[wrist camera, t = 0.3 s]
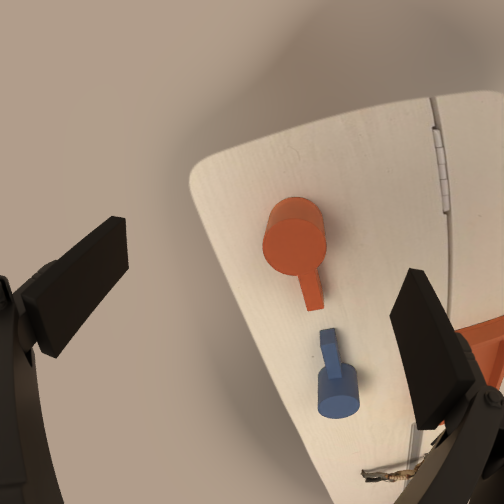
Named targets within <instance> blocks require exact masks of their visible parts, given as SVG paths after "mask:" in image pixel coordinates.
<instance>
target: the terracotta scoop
mask: <svg viewBox="0 0 504 504" xmlns="http://www.w3.org/2000/svg"><path fill="white" fill-rule="evenodd" d="M263 253H264V256H265V259H266V260H267V262H268V263H269V264H270V265H271V266H272V267H273V268H274V269H275V270H277V271H278V272H281V273H283V274H286V275H292V276H298V279H299V282H300V286H301V289H302V293H303V296H304V300H305V304H306V307H307V311H313V310H318V309H323V308H324V298H323V291H322V286H321V282H320V278H319V274H318V270H317V267H318V266H319V265H320V264H321V263H322V261H323V259H324V257H325V254H326V238H325V231H324V223H323V217H322V214H321V212H320V210H319V208H318V207H317V206H316V205H315V204H314V203H313V202H311V201H309V200H307V199H305V198H301V197H291V198H287V199H284V200H282V201H280V202H279V203H278V204H276V206H275V207H274V208H273V209H272V211H271V213H270V216H269V220H268V224H267V228H266V232H265V235H264V239H263Z"/></svg>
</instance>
